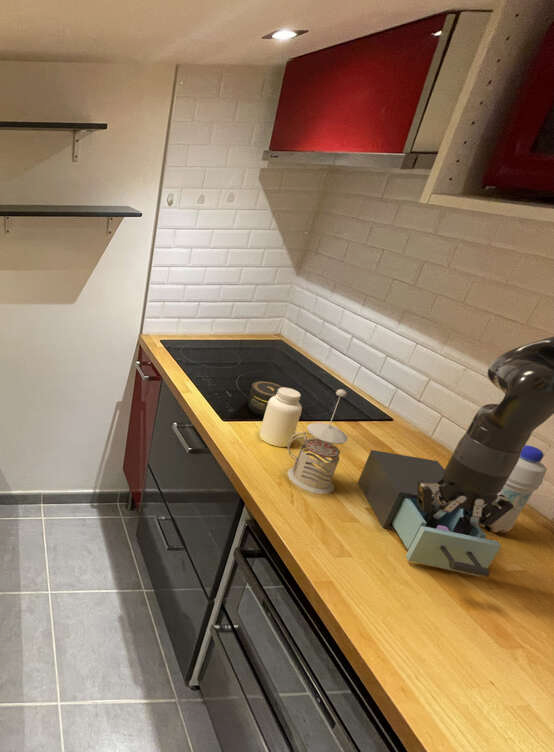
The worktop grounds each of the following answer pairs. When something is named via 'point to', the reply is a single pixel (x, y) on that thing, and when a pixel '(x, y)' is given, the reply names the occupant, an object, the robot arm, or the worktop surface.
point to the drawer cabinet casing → (395, 481)
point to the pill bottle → (281, 417)
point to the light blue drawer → (443, 541)
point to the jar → (261, 396)
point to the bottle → (520, 486)
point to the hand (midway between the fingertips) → (443, 532)
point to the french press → (307, 472)
